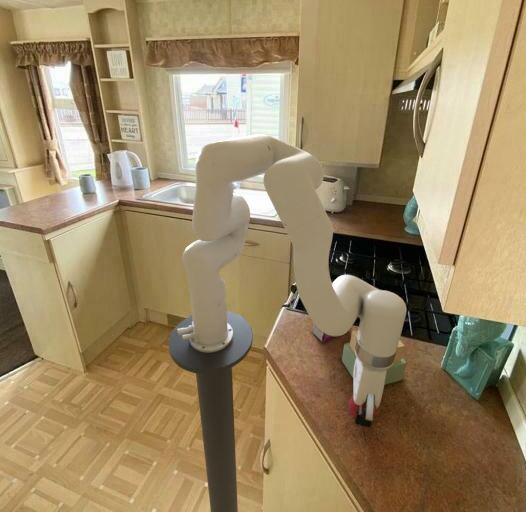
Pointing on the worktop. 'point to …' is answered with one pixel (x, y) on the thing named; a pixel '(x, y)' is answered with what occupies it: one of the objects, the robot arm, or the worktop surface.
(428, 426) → the worktop surface
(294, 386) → the worktop surface
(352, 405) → the onion
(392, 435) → the worktop surface
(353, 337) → the box stack
